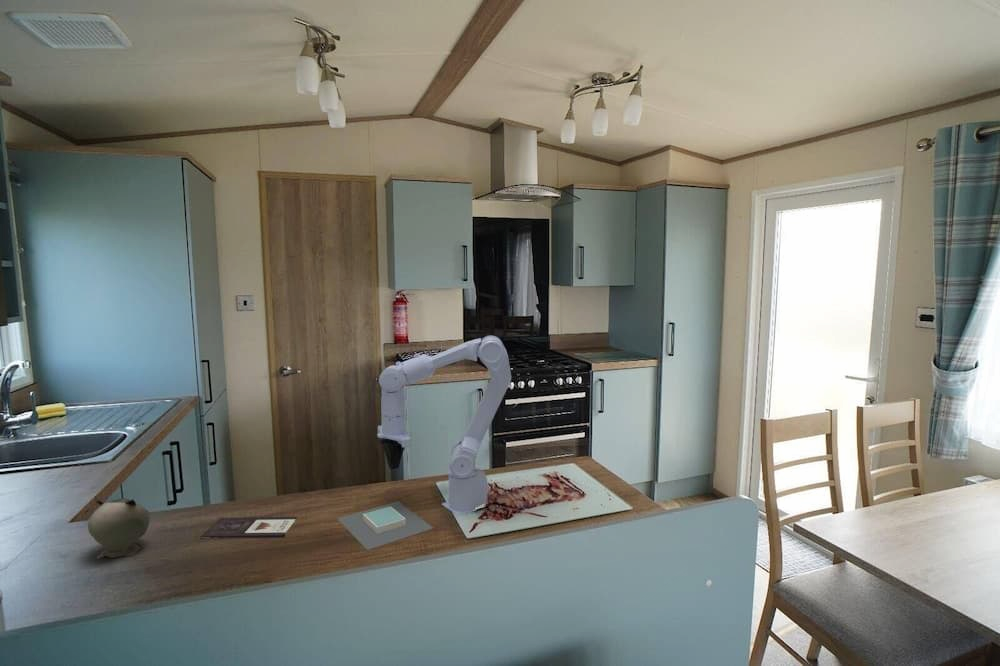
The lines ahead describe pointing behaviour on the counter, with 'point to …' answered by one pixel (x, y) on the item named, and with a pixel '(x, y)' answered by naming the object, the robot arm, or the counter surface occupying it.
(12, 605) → the counter surface
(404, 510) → the mat
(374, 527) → the tile
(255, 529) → the chocolate bar
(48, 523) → the counter surface
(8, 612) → the counter surface
